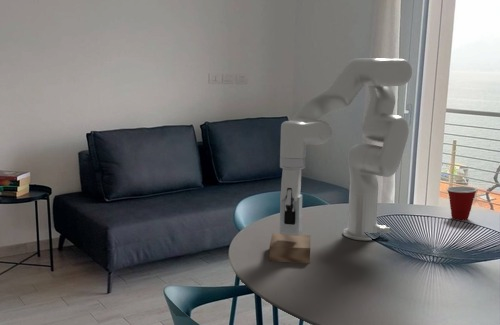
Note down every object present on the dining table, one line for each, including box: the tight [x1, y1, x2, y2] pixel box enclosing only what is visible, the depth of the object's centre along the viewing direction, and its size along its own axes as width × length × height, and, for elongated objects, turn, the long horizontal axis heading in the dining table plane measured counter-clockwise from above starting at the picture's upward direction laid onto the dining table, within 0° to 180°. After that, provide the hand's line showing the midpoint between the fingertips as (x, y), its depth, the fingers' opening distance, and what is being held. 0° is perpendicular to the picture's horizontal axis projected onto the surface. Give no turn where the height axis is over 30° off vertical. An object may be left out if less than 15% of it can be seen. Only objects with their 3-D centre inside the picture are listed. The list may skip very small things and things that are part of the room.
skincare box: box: [279, 193, 303, 236], centre depth 164 cm, size 6×4×12 cm
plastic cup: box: [446, 185, 478, 221], centre depth 206 cm, size 11×11×12 cm
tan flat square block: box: [268, 233, 311, 264], centre depth 166 cm, size 12×12×5 cm
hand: (291, 220), depth 164 cm, fingers closed on skincare box, 4 cm apart
